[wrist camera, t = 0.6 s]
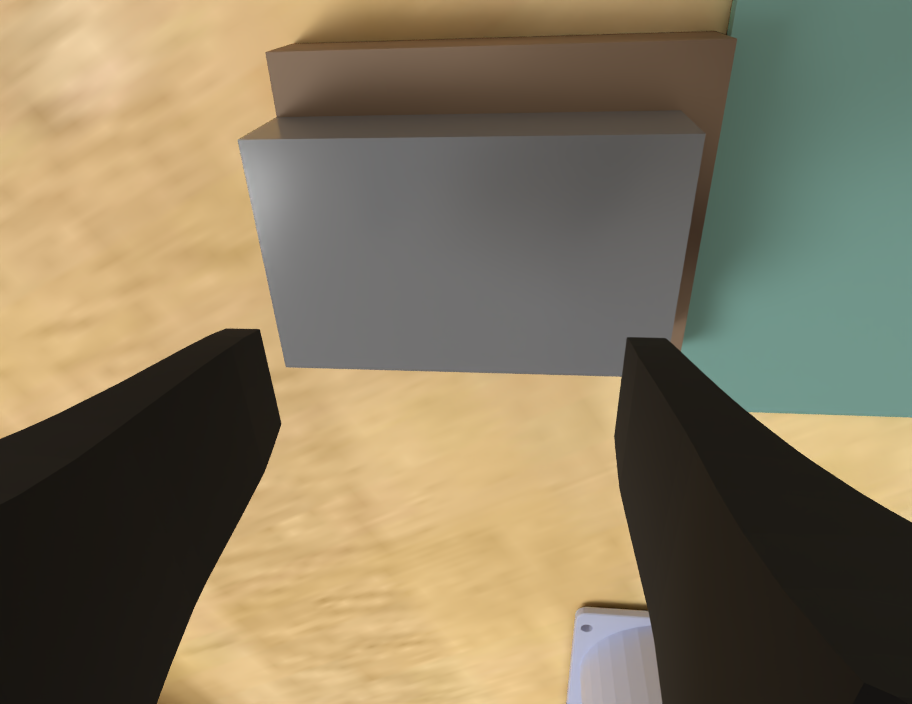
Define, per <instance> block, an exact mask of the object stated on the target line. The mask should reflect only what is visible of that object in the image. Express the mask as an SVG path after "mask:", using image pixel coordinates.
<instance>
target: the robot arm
mask: <svg viewBox="0 0 912 704" xmlns="http://www.w3.org/2000/svg"><path fill="white" fill-rule="evenodd" d="M280 426H281V420H280V415H279V411H278V407H277V402H276V398H275V394H274V389H273V385H272V381H271V376H270V372H269V368H268V363H267V359H266V355H265V350H264V346H263V341H262V337H261V333H260V329H224V330H221V331H219V332H216V333H214V334H212V335H209V336H207V337H205V338H203V339H201V340H199V341H197V342H195V343H193V344H191V345H189V346H187V347H186V348H184V349H182V350H180V351H178V352H176V353H174V354H172V355H171V356H169V357H167V358H165V359H163V360H161V361H159V362H158V363H156V364H154V365H152V366H150V367H148V368H147V369H145V370H143V371H141V372H139V373H137V374H135V375H134V376H132V377H130V378H128V379H126V380H124V381H122V382H120V383H119V384H117V385H115V386H113V387H111V388H109V389H107V390H105V391H103V392H101V393H99V394H97V395H95V396H93V397H91V398H89V399H87V400H85V401H83V402H81V403H79V404H77V405H75V406H73V407H71V408H69V409H67V410H65V411H63V412H61V413H59V414H56V415H54V416H52V417H50V418H48V419H46V420H44V421H41V422H39V423H37V424H35V425H32V426H30V427H28V428H25V429H23V430H21V431H18V432H16V433H14V434H11V435H9V436H6V437H4V438H2V439H0V704H157V701H158V699H159V696H160V693H161V691H162V688H163V685H164V682H165V680H166V677H167V674H168V672H169V669H170V666H171V664H172V661H173V659H174V656H175V654H176V651H177V649H178V646H179V644H180V641H181V639H182V636H183V634H184V632H185V629H186V627H187V624H188V622H189V619H190V617H191V614H192V612H193V609H194V607H195V605H196V603H197V601H198V599H199V596H200V594H201V592H202V590H203V588H204V586H205V584H206V582H207V580H208V578H209V576H210V574H211V572H212V571H213V569H214V567H215V565H216V563H217V561H218V559H219V557H220V556H221V554H222V552H223V550H224V548H225V546H226V544H227V543H228V541H229V539H230V537H231V535H232V533H233V531H234V529H235V528H236V526H237V524H238V522H239V520H240V518H241V516H242V514H243V513H244V511H245V509H246V507H247V505H248V503H249V501H250V499H251V497H252V495H253V493H254V492H255V490H256V488H257V486H258V484H259V482H260V480H261V478H262V476H263V474H264V472H265V469H266V467H267V464H268V461H269V459H270V456H271V453H272V450H273V447H274V444H275V441H276V438H277V435H278V432H279V429H280ZM614 438H615V449H616V460H617V470H618V479H619V488H620V493H621V497H622V502H623V506H624V510H625V515H626V519H627V523H628V528H629V532H630V536H631V540H632V544H633V549H634V553H635V557H636V561H637V565H638V570H639V574H640V578H641V582H642V586H643V591H644V595H645V599H646V603H647V607H648V611H643V610H628V609H613V608H598V607H582V608H580V609H578V610H577V611H576V613H575V623H574V632H573V642H572V652H571V661H570V671H569V681H568V691H567V700H566V704H912V522H910V521H908V520H906V519H905V518H903V517H901V516H899V515H897V514H896V513H894V512H892V511H890V510H889V509H887V508H885V507H883V506H882V505H880V504H878V503H877V502H875V501H873V500H872V499H870V498H868V497H867V496H865V495H863V494H862V493H860V492H858V491H857V490H855V489H854V488H852V487H851V486H849V485H848V484H846V483H845V482H843V481H842V480H840V479H838V478H837V477H835V476H834V475H832V474H831V473H829V472H828V471H826V470H825V469H823V468H822V467H820V466H819V465H817V464H816V463H814V462H813V461H811V460H810V459H808V458H807V457H806V456H804V455H803V454H801V453H800V452H798V451H797V450H796V449H794V448H793V447H792V446H790V445H789V444H788V443H786V442H785V441H784V440H783V439H781V438H780V437H779V436H777V435H776V434H775V433H773V432H772V431H771V430H770V429H768V428H767V427H766V426H764V425H763V424H762V423H761V422H759V421H758V420H757V419H756V418H754V417H753V416H752V415H751V414H750V413H748V412H747V411H746V410H745V409H744V408H742V407H741V406H740V405H739V404H738V403H737V402H735V401H734V400H733V399H732V398H731V397H730V396H729V395H727V394H726V393H725V392H724V391H723V390H722V389H721V388H719V387H718V386H717V385H716V384H715V383H714V382H713V381H712V380H711V379H710V378H708V377H707V376H706V375H705V374H704V373H703V372H702V371H701V370H700V369H699V368H698V367H697V366H696V365H695V364H694V363H692V362H691V361H690V360H689V359H688V358H687V357H686V356H685V355H684V354H683V353H682V352H681V351H680V350H679V349H678V348H677V347H675V346H674V345H673V344H672V343H671V342H670V341H669V340H668V339H666V338H646V337H627V339H626V347H625V355H624V363H623V371H622V379H621V387H620V395H619V403H618V411H617V419H616V427H615V435H614Z"/></svg>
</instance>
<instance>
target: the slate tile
mask: <svg viewBox="0 0 912 704" xmlns="http://www.w3.org/2000/svg"><path fill="white" fill-rule="evenodd" d="M705 135H706V134H705V133H704V132H703V131H702V130H701V129H700V128H699V127H698V126H697V125H696V124H695V123H694V122H693V121H692V120H691V119H690V118H689V117H688V116H687V115H685V114H684V113H683V112H682V111H681V110H662V111H603V112H544V113H484V114H425V115H366V116H307V117H276V118H274V119H273V120H271V121H269V122H267V123H266V124H264V125H262V126H261V127H259V128H257V129H255V130H254V131H252V132H250V133H248V134H247V135H245V136H243V137H242V138H240V139H238V144H239V149H240V154H241V158H242V163H243V168H244V172H245V177H246V182H247V186H248V191H249V196H250V201H251V205H252V210H253V215H254V219H255V224H256V229H257V234H258V238H259V243H260V248H261V252H262V257H263V262H264V266H265V271H266V276H267V281H268V285H269V290H270V295H271V299H272V304H273V309H274V314H275V318H276V323H277V328H278V332H279V337H280V342H281V347H282V351H283V356H284V361H285V365H286V367H297V368H333V369H368V370H404V371H440V372H476V373H512V374H547V375H583V376H619V377H622V371H623V363H624V355H625V347H626V339H627V337H646V338H666V339H668V340H669V341H670V342H671V337H672V331H673V325H674V319H675V313H676V307H677V301H678V295H679V289H680V283H681V278H682V272H683V266H684V260H685V254H686V248H687V242H688V236H689V230H690V224H691V218H692V212H693V206H694V200H695V194H696V188H697V183H698V177H699V171H700V165H701V159H702V153H703V147H704V141H705Z"/></svg>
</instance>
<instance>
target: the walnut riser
mask: <svg viewBox="0 0 912 704" xmlns="http://www.w3.org/2000/svg"><path fill="white" fill-rule="evenodd" d="M736 43H737V38H734V37H731V36H728V35H725V34H722V33H719V32H716V31H703V32H670V33H636V34H603V35H570V36H536V37H503V38H470V39H436V40H403V41H369V42H336V43H303V44H290V45H287V46H284V47H280V48H277V49H274V50H271V51H268V52H265V53H266V58H267V64H268V70H269V75H270V81H271V87H272V92H273V98H274V104H275V109H276V115H277V117H307V116H366V115H425V114H484V113H544V112H603V111H662V110H681V111H682V112H683V113H684V114H685V115H687V116H688V117H689V118H690V119H691V120H692V121H693V122H694V123H695V124H696V125H697V126H698V127H699V128H700V129H701V130H702V131H703V132H704V133H705V134H706V135H705V141H704V147H703V153H702V159H701V165H700V171H699V177H698V183H697V188H696V194H695V200H694V206H693V212H692V218H691V224H690V230H689V236H688V242H687V248H686V254H685V260H684V266H683V272H682V278H681V283H680V289H679V295H678V301H677V307H676V313H675V319H674V325H673V331H672V337H671V343H672V344H673V345H674V346H675V347H677V348H678V349H679V350H680V351H681V348H682V343H683V337H684V332H685V326H686V321H687V315H688V310H689V304H690V299H691V293H692V287H693V282H694V276H695V271H696V265H697V260H698V254H699V249H700V243H701V237H702V232H703V226H704V221H705V215H706V210H707V204H708V199H709V193H710V188H711V182H712V176H713V171H714V165H715V160H716V154H717V149H718V143H719V138H720V132H721V126H722V121H723V115H724V110H725V104H726V99H727V93H728V88H729V82H730V77H731V71H732V65H733V60H734V54H735V49H736Z"/></svg>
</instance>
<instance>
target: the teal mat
mask: <svg viewBox="0 0 912 704" xmlns="http://www.w3.org/2000/svg"><path fill="white" fill-rule="evenodd" d="M727 35H728V36H731V37H734V38H737V43H736V49H735V54H734V60H733V65H732V71H731V77H730V82H729V88H728V93H727V99H726V104H725V110H724V115H723V121H722V126H721V132H720V138H719V143H718V149H717V154H716V160H715V165H714V171H713V176H712V182H711V188H710V193H709V199H708V204H707V210H706V215H705V221H704V226H703V232H702V237H701V243H700V249H699V254H698V260H697V265H696V271H695V276H694V282H693V287H692V293H691V299H690V304H689V310H688V315H687V321H686V326H685V332H684V337H683V343H682V348H681V352H682V353H683V354H684V355H685V356H686V357H687V358H688V359H689V360H690V361H691V362H692V363H694V364H695V365H696V366H697V367H698V368H699V369H700V370H701V371H702V372H703V373H704V374H705V375H706V376H707V377H708V378H710V379H711V380H712V381H713V382H714V383H715V384H716V385H717V386H718V387H719V388H721V389H722V390H723V391H724V392H725V393H726V394H727V395H729V396H730V397H731V398H732V399H733V400H734V401H735V402H737V403H738V404H739V405H740V406H741V407H742V408H744V409H745V410H746V411H747V412H765V413H795V414H825V415H855V416H885V417H912V0H733V2H732V7H731V13H730V19H729V25H728V31H727Z"/></svg>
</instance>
